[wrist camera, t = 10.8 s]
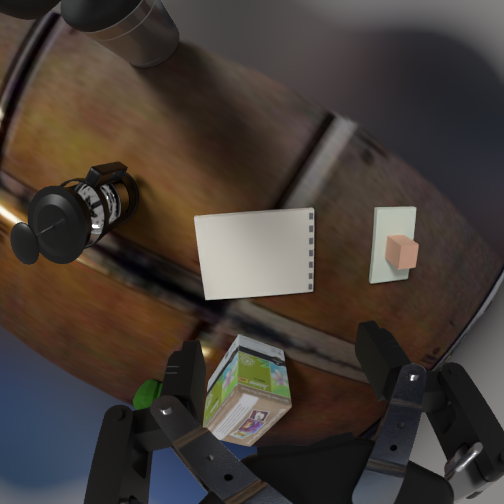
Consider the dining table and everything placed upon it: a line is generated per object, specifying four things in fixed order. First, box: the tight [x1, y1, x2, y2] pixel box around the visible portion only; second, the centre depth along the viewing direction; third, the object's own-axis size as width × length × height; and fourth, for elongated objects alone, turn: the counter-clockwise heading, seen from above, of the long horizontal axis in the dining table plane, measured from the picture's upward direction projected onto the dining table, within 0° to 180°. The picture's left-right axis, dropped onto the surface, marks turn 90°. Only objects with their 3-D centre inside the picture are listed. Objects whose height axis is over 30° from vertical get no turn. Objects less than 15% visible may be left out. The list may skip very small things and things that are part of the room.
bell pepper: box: [133, 379, 163, 410], centre depth 52 cm, size 8×8×10 cm
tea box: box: [203, 334, 292, 446], centre depth 48 cm, size 15×10×15 cm
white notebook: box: [194, 208, 314, 300], centre depth 45 cm, size 18×14×1 cm
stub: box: [369, 207, 419, 283], centre depth 43 cm, size 8×13×6 cm, turn 4°
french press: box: [10, 162, 139, 265], centre depth 30 cm, size 12×9×23 cm
